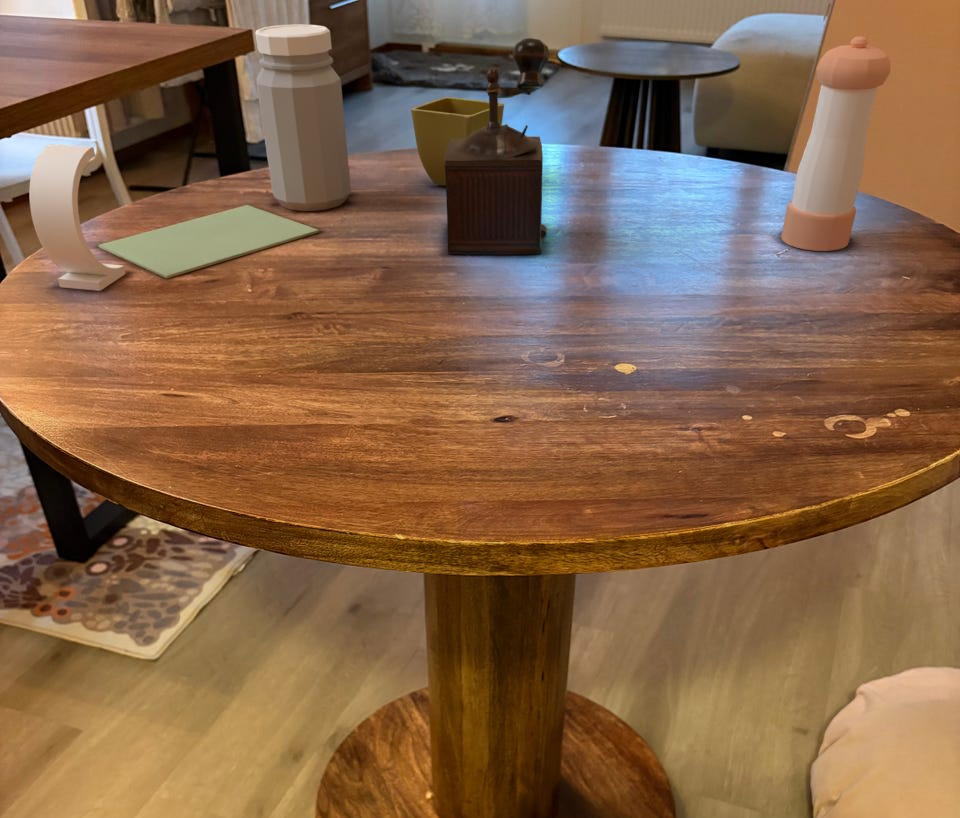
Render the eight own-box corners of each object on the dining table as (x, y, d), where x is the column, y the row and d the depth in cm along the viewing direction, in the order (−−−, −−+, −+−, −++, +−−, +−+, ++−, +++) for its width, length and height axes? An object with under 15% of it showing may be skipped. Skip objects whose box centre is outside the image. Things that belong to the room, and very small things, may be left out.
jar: (290, 218, 109) (266, 39, 97) (262, 197, 115) (236, 27, 104) (364, 205, 113) (350, 31, 101) (333, 185, 119) (316, 20, 107)
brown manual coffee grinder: (547, 255, 99) (555, 61, 87) (445, 255, 99) (439, 61, 87) (543, 211, 111) (550, 34, 99) (452, 211, 111) (448, 35, 99)
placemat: (166, 278, 94) (166, 275, 94) (98, 247, 102) (98, 244, 101) (319, 232, 105) (318, 229, 105) (247, 207, 112) (247, 204, 112)
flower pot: (448, 171, 124) (446, 95, 118) (504, 179, 121) (505, 102, 115) (413, 187, 118) (409, 108, 112) (471, 196, 115) (470, 116, 109)
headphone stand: (126, 273, 96) (93, 146, 88) (94, 294, 91) (57, 163, 83) (86, 269, 96) (51, 143, 88) (53, 290, 92) (12, 160, 84)
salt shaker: (792, 226, 106) (833, 29, 93) (856, 236, 103) (907, 34, 90) (772, 244, 101) (812, 39, 89) (838, 255, 98) (889, 45, 86)
